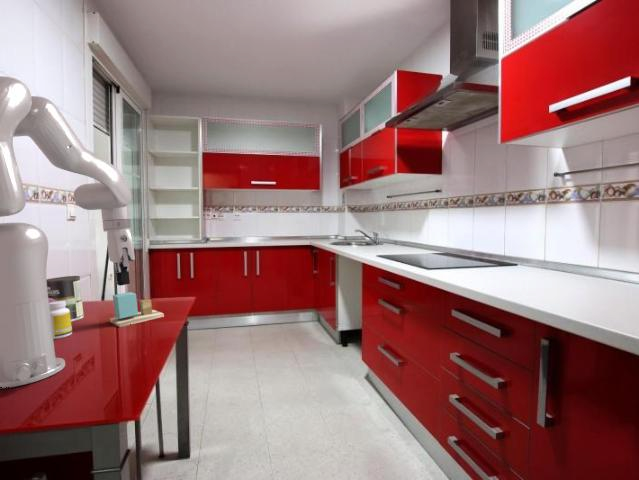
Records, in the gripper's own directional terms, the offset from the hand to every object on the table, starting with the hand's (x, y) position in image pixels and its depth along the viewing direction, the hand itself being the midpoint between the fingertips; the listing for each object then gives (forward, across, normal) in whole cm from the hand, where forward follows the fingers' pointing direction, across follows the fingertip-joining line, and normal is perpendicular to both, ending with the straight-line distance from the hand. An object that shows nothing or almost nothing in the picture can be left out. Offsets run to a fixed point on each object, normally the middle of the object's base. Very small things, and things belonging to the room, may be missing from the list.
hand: (123, 284), depth 112 cm
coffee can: (+12, +23, +12) cm, 29 cm away
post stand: (+12, 0, -3) cm, 12 cm away
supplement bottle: (+12, +1, +17) cm, 21 cm away
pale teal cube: (+10, 0, 0) cm, 10 cm away
